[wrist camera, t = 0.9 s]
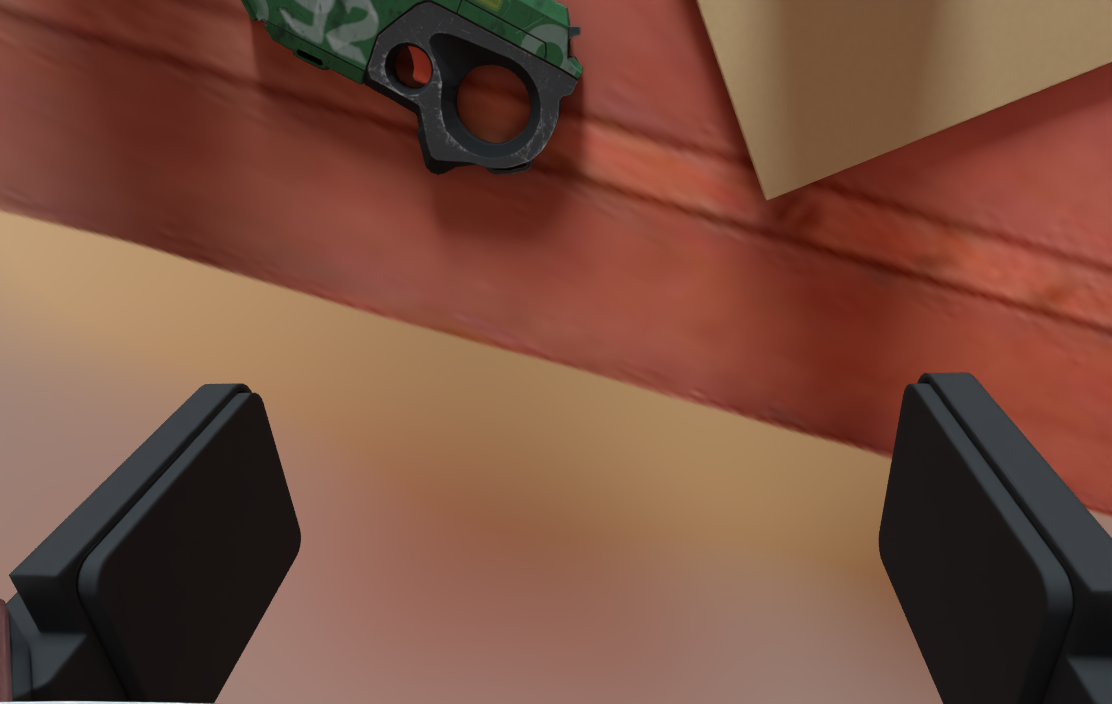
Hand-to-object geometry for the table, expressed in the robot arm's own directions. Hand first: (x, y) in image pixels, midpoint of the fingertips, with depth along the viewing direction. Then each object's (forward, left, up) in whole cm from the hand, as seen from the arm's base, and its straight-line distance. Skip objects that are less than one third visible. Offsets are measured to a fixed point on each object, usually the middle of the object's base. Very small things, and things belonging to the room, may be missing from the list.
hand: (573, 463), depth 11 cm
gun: (-7, -8, -29) cm, 31 cm away
